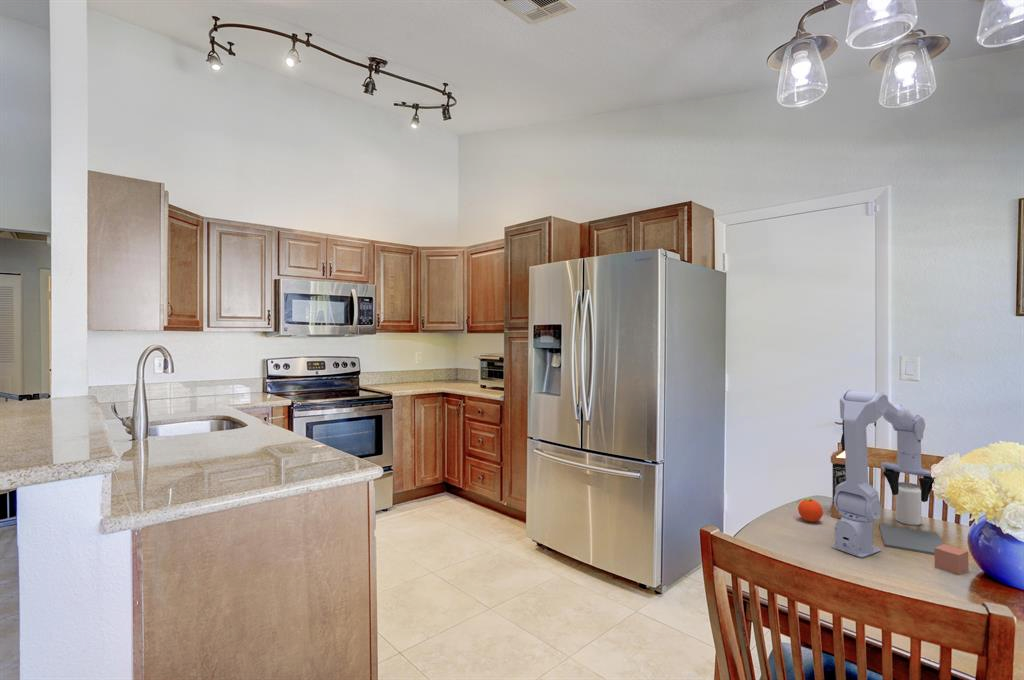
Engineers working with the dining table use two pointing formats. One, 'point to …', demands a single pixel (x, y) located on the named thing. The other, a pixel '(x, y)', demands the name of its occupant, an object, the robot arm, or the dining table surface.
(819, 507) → the clementine
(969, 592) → the dining table surface
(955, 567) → the brick cube
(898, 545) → the slate mat
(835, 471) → the whiskey bottle
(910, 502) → the can
